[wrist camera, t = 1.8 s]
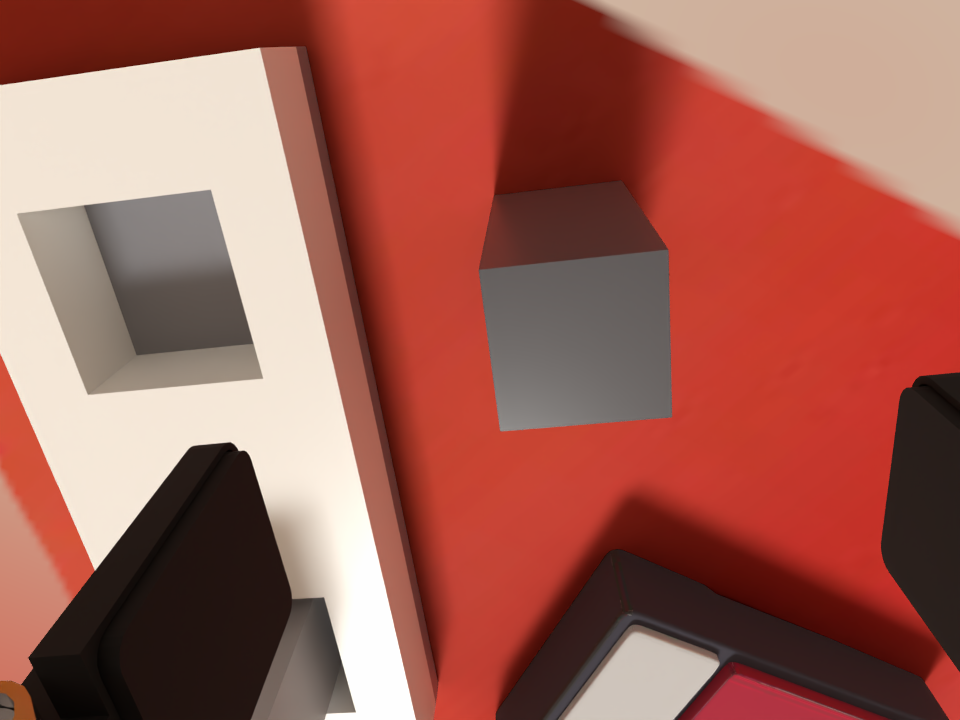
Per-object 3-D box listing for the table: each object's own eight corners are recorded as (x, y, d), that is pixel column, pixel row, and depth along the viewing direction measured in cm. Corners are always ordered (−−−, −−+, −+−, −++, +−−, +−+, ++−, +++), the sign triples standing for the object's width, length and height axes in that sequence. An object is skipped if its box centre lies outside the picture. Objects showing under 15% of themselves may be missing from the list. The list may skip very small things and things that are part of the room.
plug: (621, 180, 22) (668, 249, 15) (627, 301, 24) (672, 417, 16) (493, 195, 23) (479, 269, 15) (508, 313, 24) (500, 431, 17)
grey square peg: (328, 559, 28) (257, 744, 20) (349, 636, 29) (290, 834, 22) (230, 565, 28) (127, 750, 21) (256, 641, 30) (168, 837, 22)
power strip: (305, 46, 21) (255, 47, 17) (438, 683, 31) (425, 775, 28) (-5, 91, 22) (-120, 101, 18) (223, 693, 33) (181, 783, 29)
